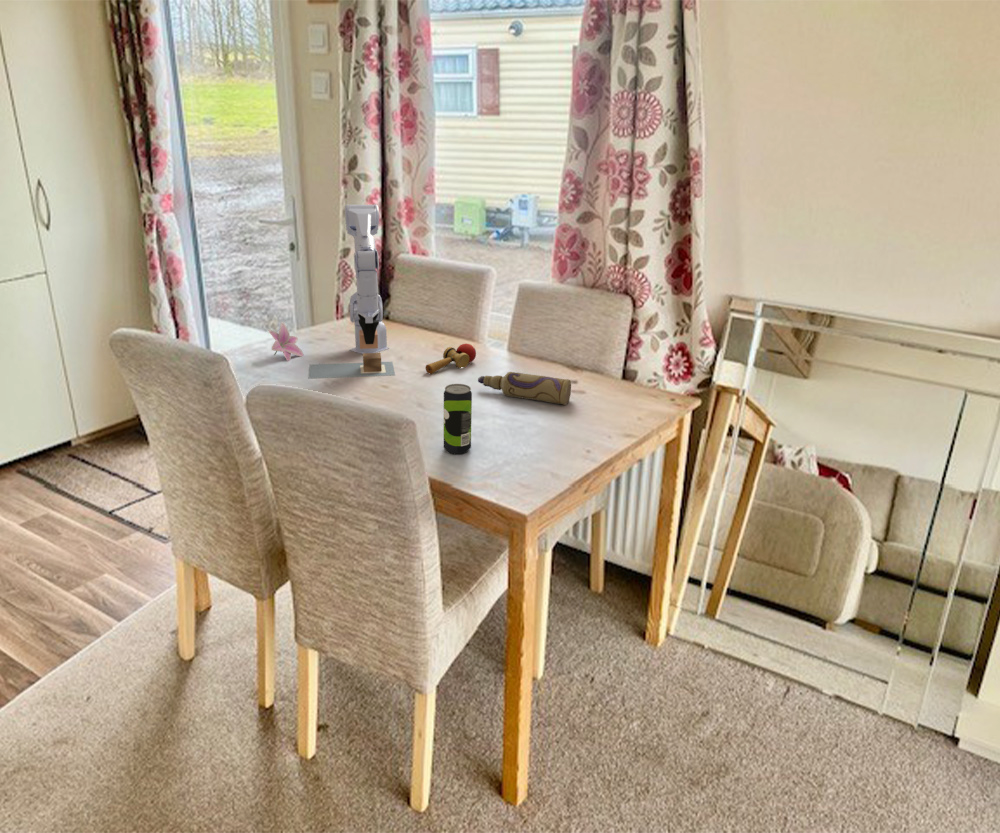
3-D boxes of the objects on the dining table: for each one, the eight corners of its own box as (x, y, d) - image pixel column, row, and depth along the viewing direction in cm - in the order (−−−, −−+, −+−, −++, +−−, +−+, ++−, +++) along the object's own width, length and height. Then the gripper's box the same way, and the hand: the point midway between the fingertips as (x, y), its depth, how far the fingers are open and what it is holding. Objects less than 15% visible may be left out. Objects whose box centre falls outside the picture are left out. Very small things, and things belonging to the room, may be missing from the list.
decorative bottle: (572, 399, 209) (574, 376, 207) (564, 409, 203) (566, 385, 200) (483, 384, 218) (484, 362, 215) (473, 393, 211) (473, 370, 209)
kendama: (440, 382, 222) (484, 360, 234) (435, 361, 220) (479, 340, 231) (423, 380, 228) (466, 358, 239) (418, 359, 225) (462, 339, 237)
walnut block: (380, 365, 228) (380, 352, 227) (381, 371, 224) (381, 358, 222) (363, 366, 227) (362, 353, 226) (363, 372, 223) (363, 358, 221)
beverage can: (470, 444, 181) (471, 383, 175) (470, 455, 175) (471, 393, 169) (444, 443, 181) (444, 383, 175) (443, 455, 175) (443, 393, 169)
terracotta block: (377, 342, 225) (376, 329, 224) (377, 348, 221) (377, 334, 219) (359, 343, 224) (359, 330, 223) (360, 348, 220) (359, 335, 218)
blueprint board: (392, 362, 232) (392, 361, 232) (395, 376, 221) (395, 375, 221) (309, 365, 228) (309, 364, 228) (308, 379, 217) (308, 378, 217)
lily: (266, 369, 227) (279, 343, 223) (251, 344, 233) (264, 319, 229) (301, 373, 236) (315, 348, 232) (286, 349, 242) (299, 324, 238)
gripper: (352, 288, 223) (354, 333, 228) (353, 300, 210) (355, 349, 215) (377, 287, 224) (378, 333, 229) (379, 300, 211) (381, 348, 216)
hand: (369, 340), depth 222 cm, fingers closed on terracotta block, 5 cm apart
